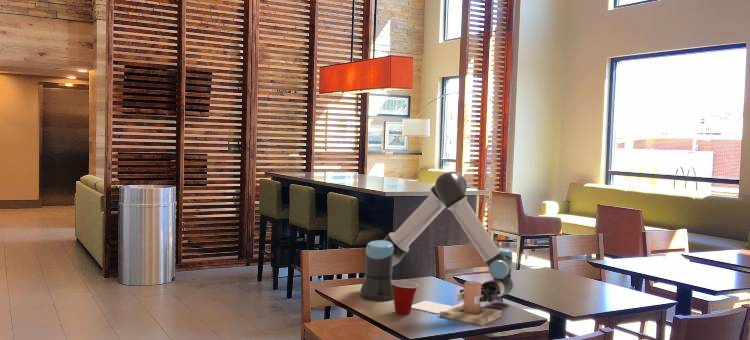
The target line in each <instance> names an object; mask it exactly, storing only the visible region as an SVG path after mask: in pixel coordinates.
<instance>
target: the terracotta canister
mask: <svg viewBox="0 0 750 340" xmlns="http://www.w3.org/2000/svg"><path fill="white" fill-rule="evenodd" d="M481 285H482V283H481V282H478V281H471V280H470V281H465V282H464V287H463V289H464V300H463V303H464V304H463V313H468V314H473V315H478V314H480V307H481V303H479V304H476V305H474V297H476V296H479V295H481Z"/></svg>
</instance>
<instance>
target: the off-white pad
mask: <svg viewBox="0 0 750 340" xmlns="http://www.w3.org/2000/svg"><path fill="white" fill-rule="evenodd" d="M449 307H452V305H447V304H443V303H440V302H439V303H438V302H435V301H429V300H423V301H420V302H416V303H414V304H412V306H411V310H412V309H413V310H416V309H417V311H422V312H426V313H430V312H431V313H432V314H435V315H440V311H442V310H444V309H447V308H449ZM431 313H430V314H431Z"/></svg>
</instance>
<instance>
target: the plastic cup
mask: <svg viewBox="0 0 750 340" xmlns="http://www.w3.org/2000/svg"><path fill="white" fill-rule="evenodd" d="M391 284H392V288H393V297H394V299H393V305H394V312H395V313H396V314H398V315H409V313H411V310H412V308H411V306H412V305H413V302H414V297H415V293H416V291H417V289H418V287H419V284H418V283H416V282H413V281H410V280H405V279H404V280H403V279H394V280H393V279H392V281H391Z"/></svg>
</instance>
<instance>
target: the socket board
mask: <svg viewBox="0 0 750 340" xmlns="http://www.w3.org/2000/svg"><path fill="white" fill-rule="evenodd" d="M463 304H464V302H459V303H458V304H455V305H453V306H452V305H451V306H452V307H449V308H447V309H444V310H442V311H440V314H439V316H440V317H442V318H447V319H452V320H455V321H461V322H464V323H469V324H475V325H478V326H484V325H486V324H488V323H491V322H492V321H495V320H497V319H500V318H501V317H503V310H499V309H494V308H488V307H484V306H480V314H478V315H473V314H468V313H463Z"/></svg>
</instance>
